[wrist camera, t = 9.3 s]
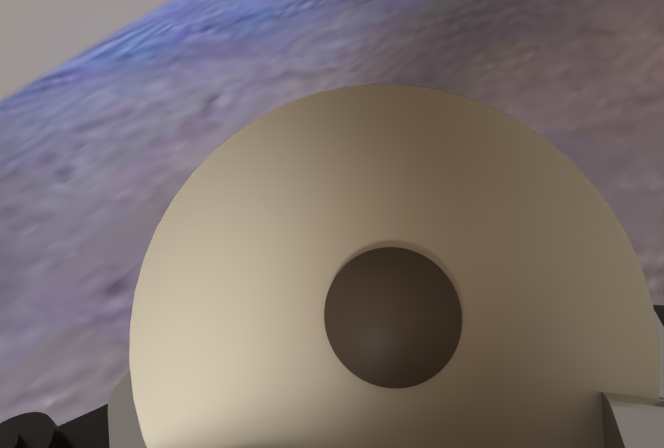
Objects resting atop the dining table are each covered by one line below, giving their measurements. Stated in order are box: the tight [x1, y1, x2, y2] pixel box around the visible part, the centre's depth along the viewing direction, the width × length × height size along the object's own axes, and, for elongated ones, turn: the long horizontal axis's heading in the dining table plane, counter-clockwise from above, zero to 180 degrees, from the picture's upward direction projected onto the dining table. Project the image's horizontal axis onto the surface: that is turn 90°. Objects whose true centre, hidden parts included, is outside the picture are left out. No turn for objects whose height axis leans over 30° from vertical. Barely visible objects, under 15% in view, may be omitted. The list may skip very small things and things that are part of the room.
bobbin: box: [129, 84, 661, 448], centre depth 9 cm, size 6×6×10 cm
